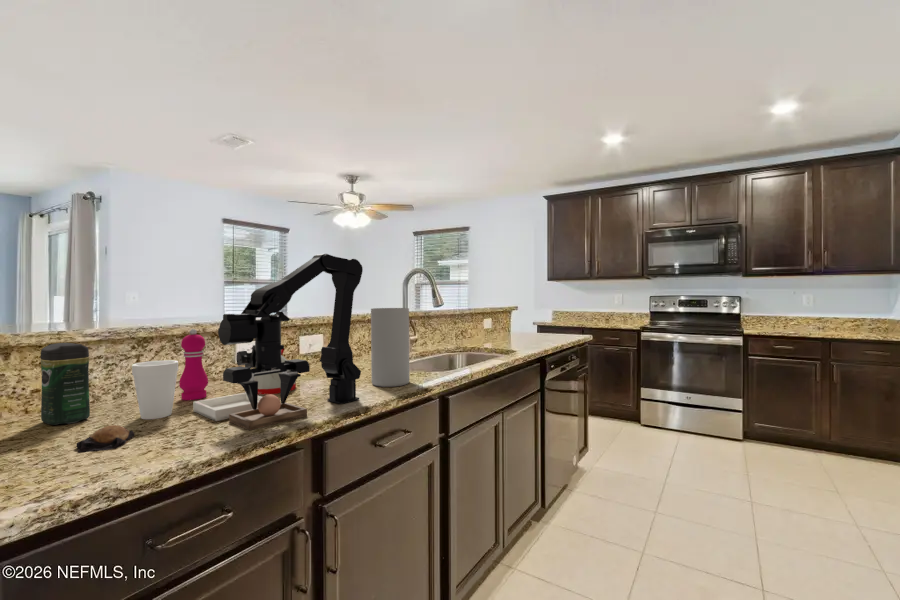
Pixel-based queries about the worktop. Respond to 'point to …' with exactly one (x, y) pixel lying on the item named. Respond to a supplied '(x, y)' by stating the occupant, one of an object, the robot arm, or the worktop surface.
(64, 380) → the coffee jar
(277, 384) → the grey and red dome
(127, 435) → the turtle figurine
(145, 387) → the foam cup
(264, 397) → the ball
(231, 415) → the tray
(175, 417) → the worktop surface
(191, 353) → the pepper mill
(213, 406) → the dish
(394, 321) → the cylinder vase
